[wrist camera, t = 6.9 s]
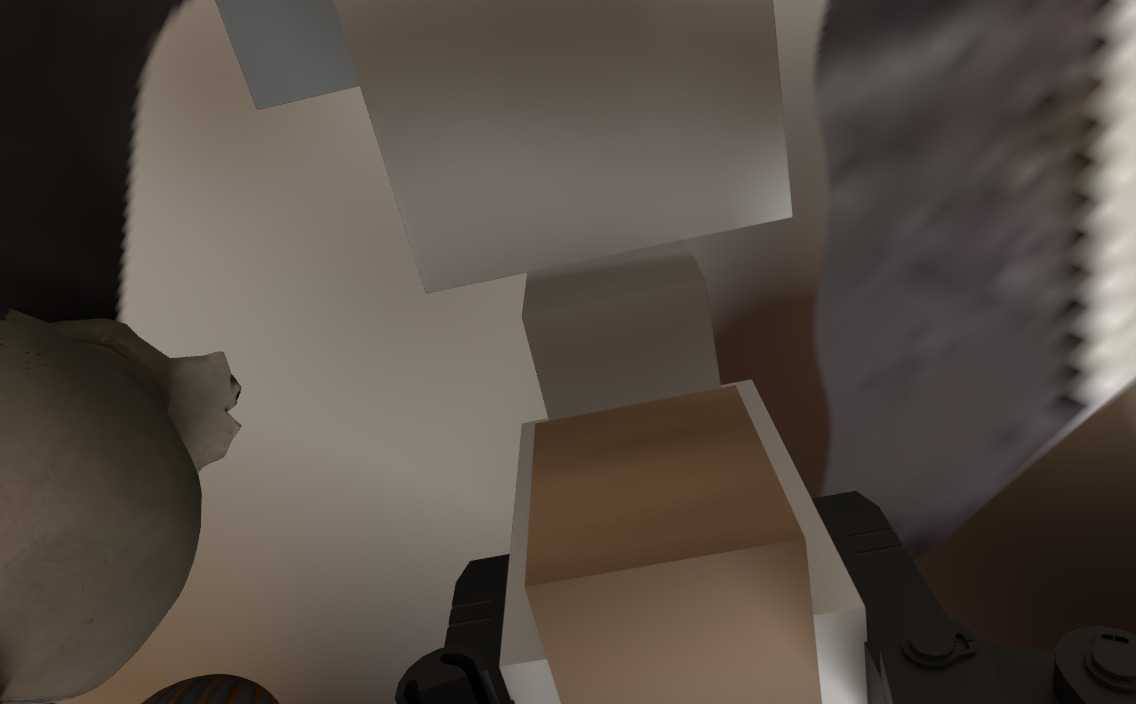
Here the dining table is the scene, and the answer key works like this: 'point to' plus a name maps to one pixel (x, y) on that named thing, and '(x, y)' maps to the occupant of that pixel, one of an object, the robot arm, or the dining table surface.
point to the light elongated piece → (612, 313)
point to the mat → (288, 48)
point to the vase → (213, 691)
